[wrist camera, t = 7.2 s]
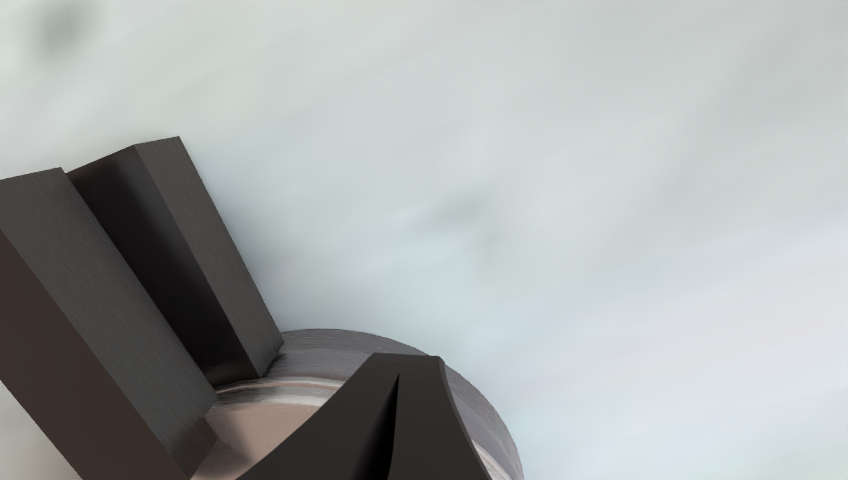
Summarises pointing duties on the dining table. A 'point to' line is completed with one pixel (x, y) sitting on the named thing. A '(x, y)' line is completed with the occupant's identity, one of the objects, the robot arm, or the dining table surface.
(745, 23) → the dining table surface
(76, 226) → the pressure cooker lid
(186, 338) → the pot
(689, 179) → the dining table surface
